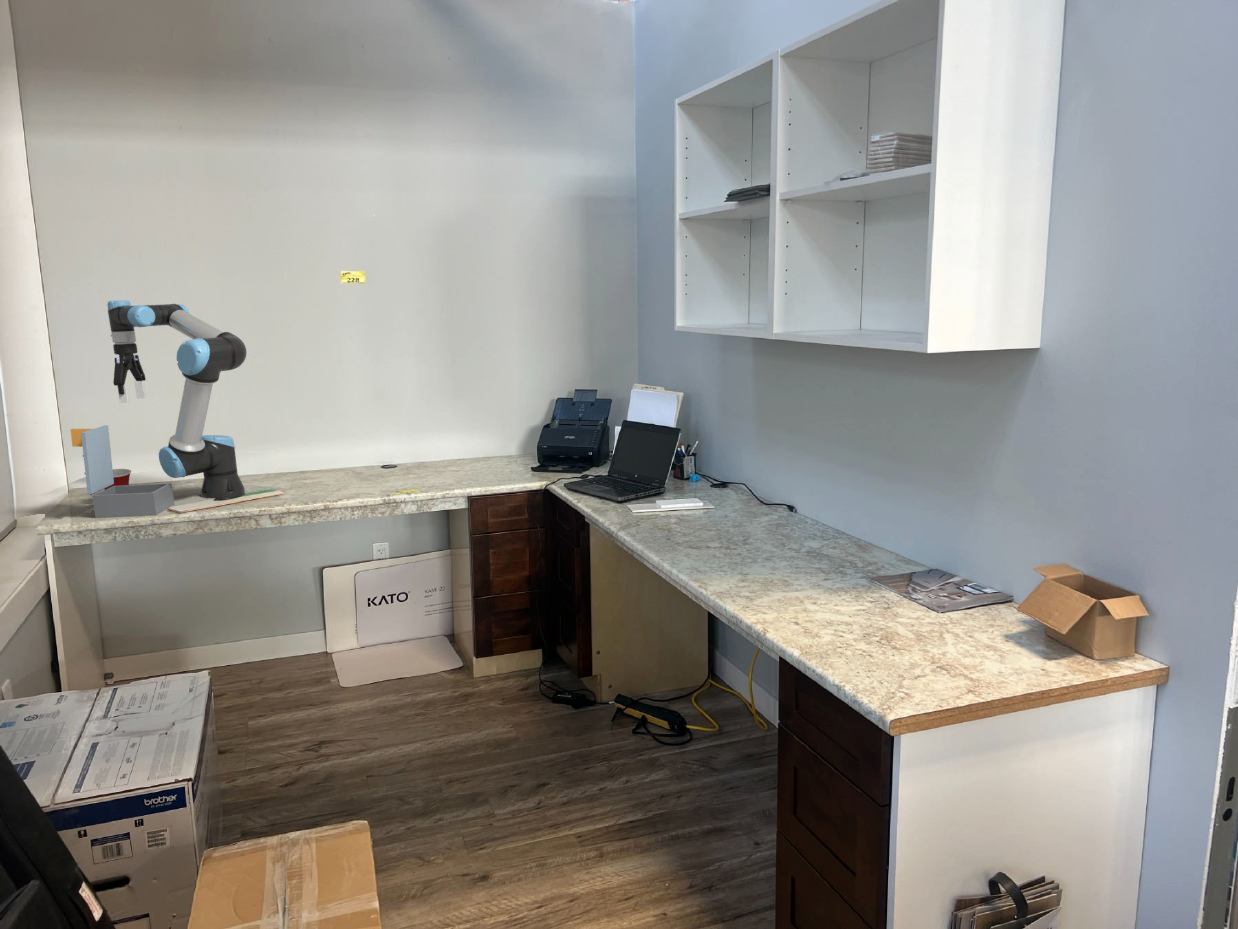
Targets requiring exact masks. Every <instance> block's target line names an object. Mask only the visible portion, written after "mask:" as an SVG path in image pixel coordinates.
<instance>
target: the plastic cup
mask: <svg viewBox="0 0 1238 929" xmlns="http://www.w3.org/2000/svg"><path fill="white" fill-rule="evenodd" d="M112 469H113V468H112ZM131 473H132V470H131V469H129V468H114V469H113V479H114V484H113V485H112V486H123V485H130V475H131ZM112 486H110V487H112ZM110 487H108V488H110ZM108 488H106V489H108ZM106 489H104V490H106Z"/></svg>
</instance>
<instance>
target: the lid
mask: <svg viewBox="0 0 1238 929" xmlns="http://www.w3.org/2000/svg"><path fill="white" fill-rule="evenodd" d="M70 436H71V437H70V438H71V446H72V447H75V448H77V447H78V448H79V447H82V454H83V455H82V458H83V463H84V471H85V472H84V475H85V482H86V491H87V492H86V494H87V495H89V496H93V495H95V494H97V493H99V492H102V491H104V490H105V489H106V488H108V487H110V486H112V485H113V484H114V479H113V462H112V461H113V458H112V451H111V450H112V449H111V441H110V439H111V438H110V430H109V425H108V424H107V425H105V424H104V425H101V426H99V427H95V428H74V427H73V428H70Z"/></svg>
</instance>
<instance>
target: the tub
mask: <svg viewBox="0 0 1238 929" xmlns="http://www.w3.org/2000/svg"><path fill="white" fill-rule="evenodd" d="M173 493H174V491H173V486H172V483H171V482H169V483H167V482H166V483H148V484H146V483H145V484H129V485H123V486H112V487H110V488H108V489H106V490H105V489H103V490H101V491H99V492H97V493H95V494H93V495H91V497H92V505H93V511H94V517H95V519H108V518H111V519H112V518H125V517H130V518H131V517H146V516H147V517H149V516H150V517H151V516H157V515H158V516H159V514H161V513H163V512H164V511H167V510H168V509H169V508H171V507H173V506H174V505H175V500H174V499H175V498H174V494H173Z"/></svg>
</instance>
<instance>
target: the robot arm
mask: <svg viewBox="0 0 1238 929" xmlns="http://www.w3.org/2000/svg"><path fill="white" fill-rule="evenodd" d="M107 313H108V314H107V315H108V320H109V321H108V322H109V326H110V333H111V334H110V337H111V339H112V343H113V345H112V347H113V352H114V353H113V354H114V355H117V356H118V357H114V368H113V369H114V372H113V381H112V383H113V386H116V387H117V392H118V398H119V404H129V403H130V402H129V397H128V388H127V385H126V384H125V383H126V379H127V375H128V371H129V372H130V373H131V375H132V377H133V378H134V380H135V381H134V382H133V383H134V386H135V387H134V388H135V395H136V399H145V398H146V394H145V388H144V386H145V385H144V382H145V381H146V379H147V378H146V374H145V372H144V369H143V367H142V364H141V362H140V358H139V357H140V356H139V355H138V354H137V353H138V346H137V343H136V342H137V337H136V331H135V328H145V327H156V326H158V327H159V326H168V327H170V328H172V329H174V330H176V331H177V332H180V333H181V334H182V335H184V336H186V337H189V338H190V339H187V340H185V341H183V342H182V343H181V344H180V346H179V347H178V349H177V351H176V361H177V364H176V365H177V367H178V370H179V371H180V372H181V374H182V376H183V377H184V378H185V380H184V386H183V391H182V397H181V402H180V407H179V408H180V409H179V412H178V419H177V422H176V423H177V424H176V428H175V434H173V435H172V436H170V437H169V440H168V444H167V446H164V447H162V448H160V449H159V452H158V461H159V464H160V466H161V468H162V471H163V472H164V473H165V474H166V475H167V476H169V478H172V479H179V478H185V477H188V476H193V475H197V474H202V473H203V482H202V485H201V489H200V497H201V498H203V499H213V501H220V500H219V499H224V500H227V499H226V498H231V499H235V498H239V497H241V496H242V497H243V495H245V494H246V491H245V490H246V489H245V486H244V484H243V481H241V478H240V476H239V473H238V468H237V467H238V466H237V458H236V451H235V450H236V446H235V443H234V439H233V437H231V436H229V435H223V434H222V435H218V434H217V435H216V434H213V435H212V434H210V435H209V434H207V435H203V433H204V429H205V423H206V419H207V415H208V409H209V404H210V400H211V394H212V390H213V384H215V383H217V382H218V381H219V379H220V374H221V372H226V371H232V370H235V369H237V368H239V367H240V366H242V364H244V362H245V360H246V359H247V347H246V345H245V343H244V341H243V340H242V339H241V338H239V336H237V335H235V334H233V333H232V332H229V331H222V330H220V329H218V328H217V327H214V326H212V325H211V324H209V323H207V322H206V321H203V320H201V319H199V318H198V317H196V316H194V315H192V314H190V311H189V309H188V308H187V307H186V306H185V305H184V304H181V303H179V304H178V303H170V304H169V303H166V304H165V303H164V304H147V305H144V304H140V305H139V304H137V305H132V304H131V301H130V300H127V299H126V300H125V299H124V300H109V301H107Z"/></svg>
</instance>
